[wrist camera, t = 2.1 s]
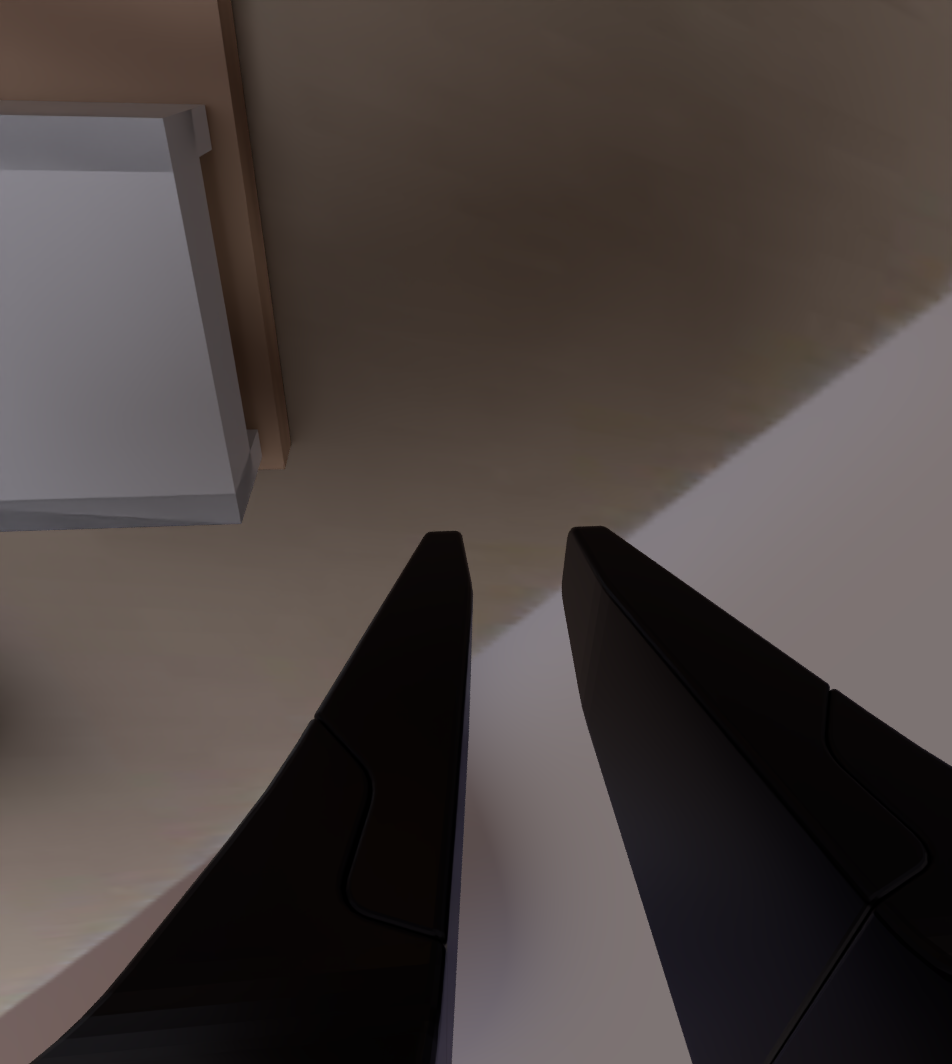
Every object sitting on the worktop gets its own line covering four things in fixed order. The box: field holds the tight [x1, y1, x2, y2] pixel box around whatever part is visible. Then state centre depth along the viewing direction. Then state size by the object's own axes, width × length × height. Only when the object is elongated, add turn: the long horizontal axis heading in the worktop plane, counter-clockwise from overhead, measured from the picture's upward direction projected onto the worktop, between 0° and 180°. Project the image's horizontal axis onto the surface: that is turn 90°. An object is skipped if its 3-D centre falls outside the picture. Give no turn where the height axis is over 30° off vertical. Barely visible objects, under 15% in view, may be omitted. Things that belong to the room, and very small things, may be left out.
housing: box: [0, 100, 262, 532], centre depth 15 cm, size 8×7×3 cm
